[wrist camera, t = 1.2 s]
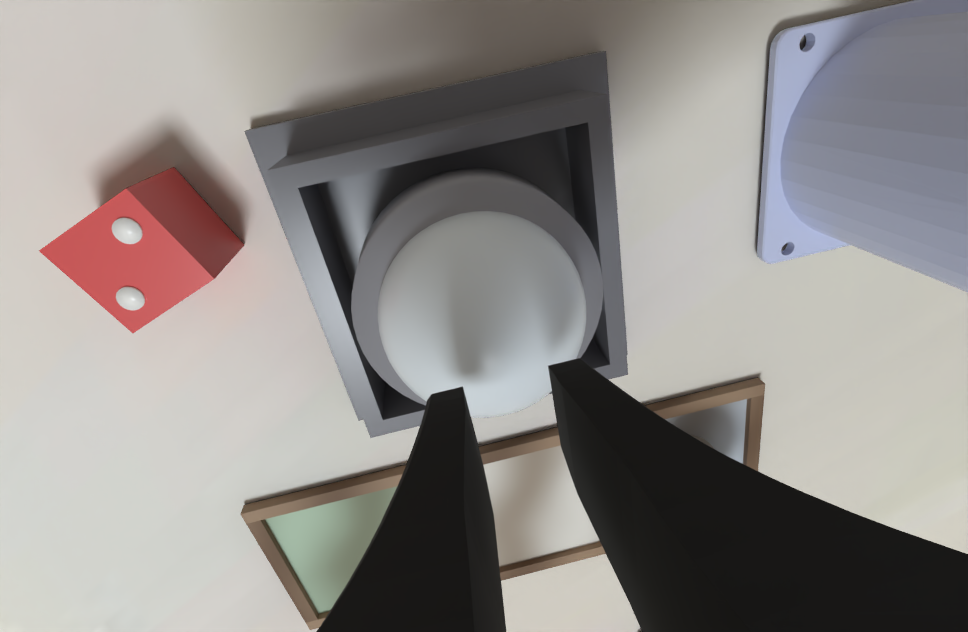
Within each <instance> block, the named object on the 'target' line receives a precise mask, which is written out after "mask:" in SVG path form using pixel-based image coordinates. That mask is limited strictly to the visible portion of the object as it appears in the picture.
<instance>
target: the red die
mask: <svg viewBox="0 0 968 632" xmlns="http://www.w3.org/2000/svg"><path fill="white" fill-rule="evenodd" d="M243 246H244V244H243V243H242V242H241V241H240V240H239V238H238V237H237V236H236V235H235V234H234V233H233V232H232V231H231V230H230V229H229V227H228V226H227V225H226V224H225V223H224V222H223V221H222V220H221V219H220V217H219V216H218V215H217V214H216V213H215V212H214V211H213V210H212V209H211V208H210V206H209V205H208V204H207V203H206V202H205V201H204V200H203V199H202V198H201V196H200V195H199V194H198V193H197V192H196V191H195V190H194V189H193V188H192V187H191V185H190V184H189V183H188V182H187V181H186V180H185V179H184V178H183V177H182V175H181V174H180V173H179V172H178V171H177V170H176V169H175V168H174V167H173V168H171V169H168V170H166V171H164V172H162V173H159V174H157V175H155V176H153V177H150V178H148V179H146V180H144V181H141V182H139V183H137V184H135V185H132V186H130V187H128V188H126V189H124V190H123V191H122V192H120V193H119V194H117V195H116V196H115V197H113V198H112V199H110V200H109V201H108V202H106V203H105V204H104V205H102V206H101V207H99V208H98V209H97V210H95V211H94V212H92V213H91V214H90V215H88V216H87V217H85V218H84V219H83V220H81V221H80V222H78V223H77V224H76V225H74V226H73V227H71V228H70V229H69V230H67V231H66V232H65V233H63V234H62V235H60V236H59V237H58V238H56V239H55V240H53V241H52V242H51V243H49V244H48V245H46V246H45V247H44V248H42V249H41V250H39V251H40V252H41V253H42V254H43V255H44V256H45V257H46V258H48V259H49V260H50V261H51V262H52V263H53V264H54V265H56V266H57V267H58V268H59V269H60V270H61V271H62V272H64V273H65V274H66V275H67V276H68V277H69V278H70V279H72V280H73V281H74V282H75V283H76V284H77V285H78V286H80V287H81V288H82V289H83V290H84V291H85V292H86V293H88V294H89V295H90V296H91V297H92V298H93V299H94V300H96V301H97V302H98V303H99V304H100V305H101V306H102V307H104V308H105V309H106V310H107V311H108V312H109V313H110V314H111V315H113V316H114V317H115V318H116V319H117V320H118V321H119V322H121V323H122V324H123V325H124V326H125V327H126V328H127V329H129V330H130V331H131V332H132V333H134V332H136V331H137V330H139V329H140V328H142V327H143V326H145V325H146V324H148V323H149V322H151V321H152V320H154V319H155V318H157V317H158V316H160V315H161V314H162V313H164V312H165V311H167V310H168V309H170V308H171V307H173V306H174V305H176V304H177V303H179V302H180V301H182V300H183V299H185V298H186V297H188V296H189V295H191V294H192V293H194V292H195V291H197V290H198V289H200V288H201V287H203V286H204V285H206V284H207V283H209V282H210V281H212V280H213V279H215V277H216V276H217V275H218V274H219V273H220V272H221V271H222V270H223V268H224V267H225V266H226V265H227V264H228V263H229V262H230V261H231V259H232V258H233V257H234V256H235V255H236V254H237V253H238V252H239V250H240V249H241V248H242V247H243Z"/></svg>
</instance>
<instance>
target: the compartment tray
mask: <svg viewBox="0 0 968 632" xmlns="http://www.w3.org/2000/svg"><path fill="white" fill-rule="evenodd" d="M764 391H765V383H764V382H763V381H761V380H760V379H759V378H754V379H750V380H746V381H742V382H738V383H734V384H730V385H726V386H722V387H718V388H714V389H710V390H706V391H702V392H697V393H693V394H689V395H685V396H681V397H677V398H673V399H669V400H665V401H661V402H657V403H653V404H649V405H645V406H646V407H647V408H649V409H650V410H652V411H653V412H655V413H656V414H658V415H659V416H661V417H662V418H664V419H665V420H667V421H668V422H670V423H671V424H673V425H675V426H676V427H678V428H679V429H681V430H683V431H684V432H686V433H688V434H689V435H693V436H697V437H701V438H703V439H705V440H706V441H708V442H709V443H710V444H711V445H712V446H713V448H714V449H715V450H717V451H719V452H721V453H722V454H724V455H726V456H728V457H730V458H732V459H734V460H736V461H738V462H740V463H742V464H744V465H746V466H748V467H750V468H752V469H754V470H756V471H758V463H759V451H760V439H761V427H762V415H763V403H764ZM479 450H480V454H481V458H482V462H483V466H484V470H485V475H486V480H487V484H488V489H489V494H490V499H491V504H492V508H493V513H494V521H495V530H496V540H497V549H498V558H499V568H500V577H501V580H505V579H509V578H513V577H517V576H521V575H525V574H528V573H532V572H536V571H540V570H544V569H548V568H552V567H556V566H559V565H563V564H567V563H571V562H575V561H579V560H583V559H587V558H590V557H594V556H598V555H602V554H606V553H605V551H604V548H603V546H602V544H601V542H600V540H599V538H598V536H597V534H596V532H595V530H594V528H593V526H592V524H591V521H590V519H589V517H588V515H587V513H586V511H585V509H584V507H583V505H582V503H581V500H580V498H579V496H578V494H577V491H576V489H575V486H574V483H573V480H572V477H571V475H570V472H569V469H568V466H567V463H566V460H565V457H564V454H563V451H562V449H561V444H560V438H559V432H558V427H556V428H552V429H548V430H544V431H540V432H536V433H532V434H528V435H524V436H520V437H516V438H512V439H508V440H504V441H500V442H496V443H492V444H488V445H484V446H480V447H479ZM405 467H406V465H403V466H399V467H395V468H391V469H387V470H383V471H379V472H375V473H371V474H367V475H363V476H359V477H355V478H351V479H347V480H343V481H339V482H335V483H331V484H327V485H323V486H319V487H315V488H311V489H307V490H303V491H299V492H295V493H291V494H287V495H282V496H278V497H274V498H270V499H266V500H262V501H258V502H254V503H250V504H246V505H244V506H243V509H242V512H241V516H242V517H243V519H244V521H245V522H246V524H247V526H248V527H249V529H250V531H251V532H252V534H253V536H254V537H255V539H256V541H257V542H258V544H259V546H260V547H261V549H262V551H263V552H264V554H265V556H266V557H267V559H268V561H269V562H270V564H271V566H272V567H273V569H274V571H275V572H276V574H277V576H278V577H279V579H280V581H281V582H282V584H283V586H284V587H285V589H286V591H287V592H288V594H289V596H290V597H291V599H292V601H293V602H294V604H295V606H296V607H297V609H298V611H299V612H300V614H301V616H302V617H303V619H304V620H305V622H306V624H307V625H308V627H309V629H310V630H312V629H316V628H319V627H320V626H321V624H322V623H323V621H324V620H325V618H326V616H327V615H328V613H329V612H330V610H331V609H332V607H333V605H334V604H335V602H336V601H337V599H338V597H339V596H340V594H341V593H342V591H343V589H344V588H345V586H346V585H347V583H348V581H349V580H350V578H351V576H352V574H353V573H354V571H355V569H356V567H357V566H358V564H359V562H360V560H361V559H362V557H363V555H364V553H365V552H366V550H367V548H368V546H369V544H370V542H371V540H372V538H373V536H374V535H375V533H376V531H377V529H378V527H379V525H380V523H381V521H382V519H383V516H384V514H385V512H386V510H387V508H388V506H389V503H390V501H391V499H392V497H393V495H394V493H395V491H396V488H397V486H398V484H399V482H400V479H401V477H402V474H403V472H404V469H405Z"/></svg>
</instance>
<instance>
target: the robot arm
mask: <svg viewBox="0 0 968 632" xmlns="http://www.w3.org/2000/svg"><path fill="white" fill-rule="evenodd" d="M804 35H805V36H806V40H807V42H806V45H805V47H804V48H803V49H802V50H801V49H800V46H799V44H800V40H801V38H802V37H803V36H804ZM786 243H788V244H787V247H786V248H785V250H783V251H781V249H782V247H783V246H784V245H785V244H786ZM848 245H852V246H855V247H857V248H860V249H862V250H865V251H867V252H870V253H872V254H874V255H877V256H879V257H882V258H884V259H887V260H889V261H892V262H894V263H897V264H899V265H902V266H904V267H906V268H909V269H911V270H914V271H916V272H919V273H921V274H924V275H926V276H929V277H931V278H934V279H936V280H939V281H941V282H943V283H946V284H948V285H951V286H953V287H956V288H958V289H961V290H963V291H966V292H968V0H912V1H908V2H903V3H899V4H894V5H890V6H885V7H881V8H876V9H872V10H867V11H863V12H858V13H854V14H850V15H845V16H841V17H836V18H832V19H827V20H823V21H818V22H814V23H809V24H805V25H800V26H796V27H791V28H787V29H784V30H782V31H780V32H779V33H778V34H777V35H776V36H775V37H774V39H773V41H772V43H771V48H770V58H769V74H768V89H767V105H766V120H765V136H764V152H763V167H762V183H761V198H760V214H759V229H758V245H757V255H758V257H759V259H760V260H762V261H764V262H766V263H768V264H773V263H778V262H782V261H786V260H790V259H794V258H798V257H803V256H807V255H811V254H815V253H819V252H823V251H828V250H832V249H836V248H840V247H844V246H848ZM548 369H549V375H550V382H551V388H552V394H553V400H554V407H555V413H556V419H557V425H558V432H559V438H560V444H561V449H562V451H563V454H564V457H565V460H566V463H567V466H568V469H569V472H570V475H571V477H572V480H573V483H574V486H575V489H576V491H577V494H578V496H579V498H580V500H581V503H582V505H583V507H584V509H585V511H586V513H587V515H588V517H589V519H590V521H591V524H592V526H593V528H594V530H595V532H596V534H597V536H598V538H599V540H600V542H601V544H602V546H603V548H604V551H605V553H606V555H607V557H608V559H609V561H610V563H611V565H612V567H613V569H614V571H615V573H616V575H617V577H618V579H619V582H620V584H621V586H622V588H623V590H624V592H625V594H626V596H627V598H628V600H629V602H630V604H631V607H632V609H633V611H634V614H635V616H636V618H637V620H638V623H639V625H640V627H641V630H642V632H968V554H966V553H962V552H960V551H957V550H954V549H951V548H948V547H945V546H942V545H939V544H937V543H934V542H931V541H928V540H925V539H922V538H919V537H916V536H914V535H911V534H908V533H905V532H902V531H899V530H896V529H894V528H891V527H888V526H886V525H883V524H880V523H878V522H875V521H873V520H870V519H867V518H865V517H862V516H859V515H857V514H854V513H852V512H849V511H847V510H844V509H842V508H840V507H837V506H835V505H832V504H830V503H828V502H825V501H823V500H820V499H818V498H816V497H813V496H811V495H808V494H806V493H804V492H801V491H799V490H797V489H794V488H792V487H790V486H788V485H786V484H783V483H781V482H779V481H777V480H775V479H772V478H770V477H768V476H766V475H764V474H762V473H760V472H758V471H756V470H754V469H752V468H750V467H748V466H746V465H744V464H742V463H740V462H738V461H736V460H734V459H732V458H730V457H728V456H726V455H724V454H722V453H721V452H719V451H717V450H715V449H713V448H711V447H710V446H708V445H706V444H704V443H703V442H701V441H699V440H698V439H696V438H694V437H693V436H691V435H689V434H688V433H686V432H684V431H683V430H681V429H679V428H678V427H676V426H675V425H673V424H671V423H670V422H668V421H667V420H665V419H664V418H662V417H661V416H659V415H658V414H656V413H655V412H653V411H652V410H650V409H649V408H647V407H646V406H644V405H643V404H641V403H640V402H638V401H637V400H635V399H634V398H633V397H631V396H630V395H628V394H627V393H626V392H624V391H623V390H622V389H620V388H619V387H617V386H616V385H615V384H613V383H612V382H611V381H609V380H608V379H607V378H605V377H604V376H603V375H601V374H600V373H599V372H598V371H596V370H595V369H594V368H592V367H591V366H590V365H588V364H587V363H586V362H584V361H583V360H581V359H580V358H578V359H573V360H569V361H565V362H561V363H557V364H553V365H549V366H548ZM317 632H506V625H505V616H504V606H503V597H502V587H501V577H500V568H499V558H498V549H497V540H496V530H495V521H494V513H493V508H492V504H491V499H490V494H489V489H488V484H487V480H486V475H485V470H484V466H483V462H482V458H481V454H480V450H479V446H478V443H477V439H476V435H475V431H474V427H473V423H472V420H471V416H470V412H469V408H468V404H467V400H466V397H465V393H464V389H463V387H459V388H454V389H450V390H446V391H442V392H438V393H434V394H431V395H430V397H429V398H428V400H427V403H426V407H425V411H424V415H423V418H422V422H421V425H420V428H419V431H418V434H417V437H416V440H415V443H414V446H413V449H412V451H411V454H410V456H409V459H408V461H407V464H406V467H405V469H404V472H403V474H402V477H401V479H400V482H399V484H398V486H397V488H396V491H395V493H394V495H393V497H392V499H391V501H390V503H389V506H388V508H387V510H386V512H385V514H384V516H383V519H382V521H381V523H380V525H379V527H378V529H377V531H376V533H375V535H374V536H373V538H372V540H371V542H370V544H369V546H368V548H367V550H366V552H365V553H364V555H363V557H362V559H361V560H360V562H359V564H358V566H357V567H356V569H355V571H354V573H353V574H352V576H351V578H350V580H349V581H348V583H347V585H346V586H345V588H344V589H343V591H342V593H341V594H340V596H339V597H338V599H337V601H336V602H335V604H334V605H333V607H332V609H331V610H330V612H329V613H328V615H327V616H326V618H325V620H324V621H323V623H322V624H321V626H320V627H319V629H318V630H317Z"/></svg>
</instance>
